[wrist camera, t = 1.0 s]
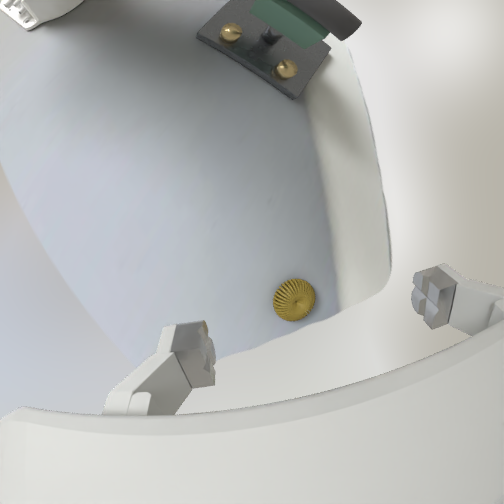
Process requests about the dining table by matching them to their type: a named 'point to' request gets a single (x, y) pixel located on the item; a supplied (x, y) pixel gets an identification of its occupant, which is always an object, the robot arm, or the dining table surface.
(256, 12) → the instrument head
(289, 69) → the plate
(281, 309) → the sculpture
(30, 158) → the dining table surface
